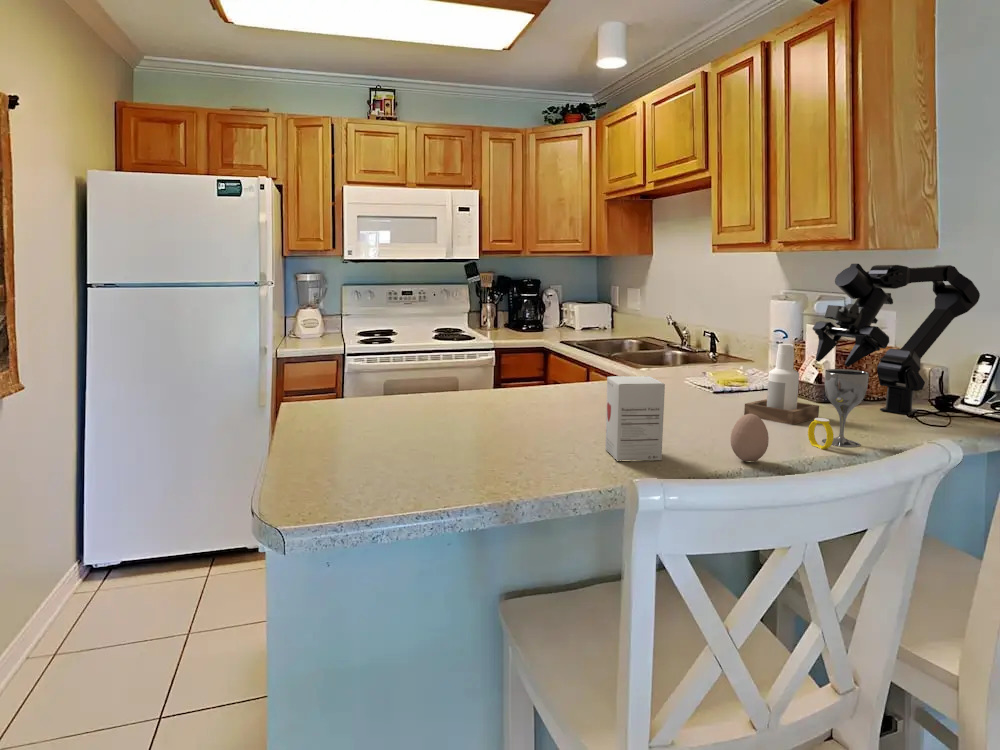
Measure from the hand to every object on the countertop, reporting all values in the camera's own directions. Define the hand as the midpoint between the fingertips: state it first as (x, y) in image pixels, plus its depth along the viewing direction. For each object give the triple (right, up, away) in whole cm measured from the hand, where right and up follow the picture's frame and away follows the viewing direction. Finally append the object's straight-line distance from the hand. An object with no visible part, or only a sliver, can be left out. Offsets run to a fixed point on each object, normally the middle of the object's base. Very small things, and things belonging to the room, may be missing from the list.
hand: (831, 363), depth 158 cm
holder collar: (-11, -13, +2) cm, 18 cm away
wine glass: (-10, -17, -23) cm, 30 cm away
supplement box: (-55, -19, -32) cm, 67 cm away
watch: (-16, -18, -26) cm, 35 cm away
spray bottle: (-11, -13, +2) cm, 18 cm away
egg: (-34, -19, -36) cm, 54 cm away
